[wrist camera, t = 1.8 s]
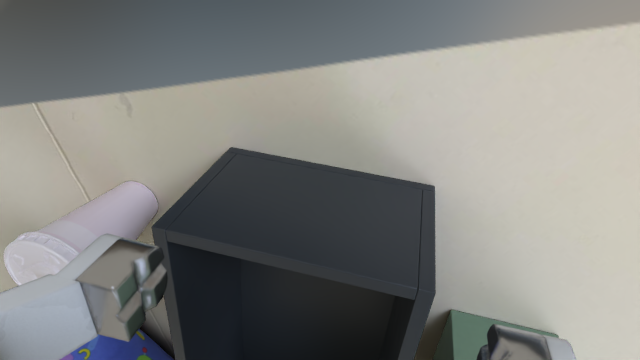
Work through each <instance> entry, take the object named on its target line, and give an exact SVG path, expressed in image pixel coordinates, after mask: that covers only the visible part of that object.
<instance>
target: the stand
mask: <svg viewBox="0 0 640 360" xmlns="http://www.w3.org/2000/svg"><path fill="white" fill-rule="evenodd" d="M493 324H498V325H502V326H507V327H511V328H516V329H520V330H525V331H529V332H534V333H538V334H540V335H547V336H551V337H556V338H559V337H558V335H556V334H552V333H548V332H543V331H539V330H535V329H531V328H527V327H522V326H518V325H514V324H510V323H506V322H501V321H497V320H493V319H489V318H485V317H480V316H476V315H472V314H468V313H464V312H460V311H455V310H451V311H450V314H449V317H448V319H447V322H446V325H445V327H444V330H443V333H442V335H441V338H440V341H439V343H438V346H437V349H436V352H435V354H434V357H433V360H477V356H478V353H479V351H480V348H481V347H482V346H484V345H486V344H488V341H487V332H488V330H489V328H490V327H491V326H492V325H493Z"/></svg>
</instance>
